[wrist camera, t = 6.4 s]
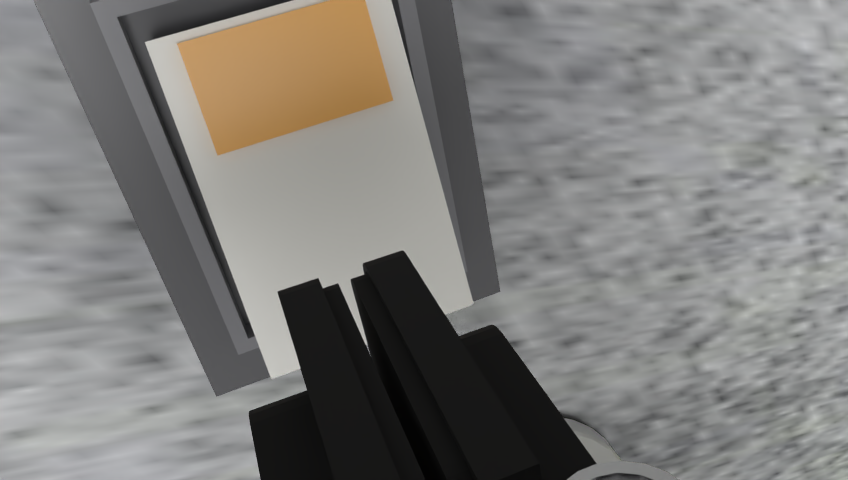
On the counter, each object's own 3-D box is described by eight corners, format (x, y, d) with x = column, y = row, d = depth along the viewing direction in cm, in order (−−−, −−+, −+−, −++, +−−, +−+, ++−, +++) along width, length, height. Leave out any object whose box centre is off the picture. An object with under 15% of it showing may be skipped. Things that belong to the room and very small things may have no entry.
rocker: (459, 289, 20) (476, 307, 19) (267, 359, 19) (272, 383, 18) (373, -22, 18) (386, -27, 16) (148, 41, 17) (144, 42, 16)
